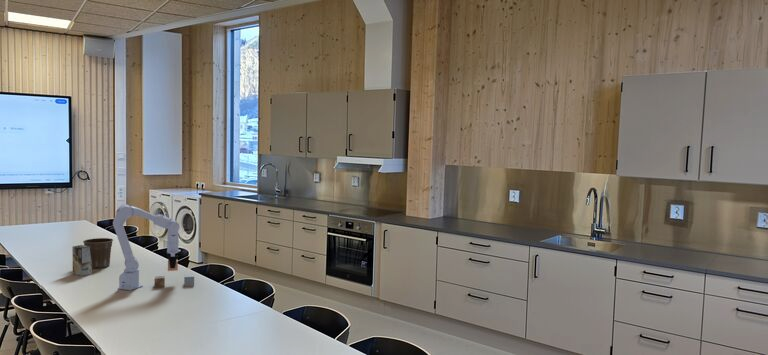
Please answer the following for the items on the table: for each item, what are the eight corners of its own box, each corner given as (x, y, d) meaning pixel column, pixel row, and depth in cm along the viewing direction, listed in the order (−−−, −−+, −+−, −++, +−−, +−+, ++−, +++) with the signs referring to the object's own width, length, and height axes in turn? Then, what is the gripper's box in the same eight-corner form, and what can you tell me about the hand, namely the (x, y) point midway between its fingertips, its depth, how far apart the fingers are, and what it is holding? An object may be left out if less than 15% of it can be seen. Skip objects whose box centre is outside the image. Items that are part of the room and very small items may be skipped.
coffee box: (92, 274, 317) (92, 246, 316) (81, 276, 312) (81, 248, 310) (82, 271, 321) (82, 244, 320) (71, 274, 316) (71, 246, 315)
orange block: (167, 270, 299) (167, 261, 298) (167, 268, 303) (167, 259, 303) (177, 270, 300) (177, 261, 300) (177, 268, 305) (177, 259, 305)
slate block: (184, 286, 299) (184, 277, 299) (184, 283, 304) (184, 274, 303) (194, 285, 301) (194, 276, 300) (193, 283, 305) (193, 274, 305)
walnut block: (154, 287, 294) (154, 278, 293) (154, 285, 298) (154, 276, 298) (164, 287, 295) (164, 278, 295) (164, 284, 300) (164, 275, 300)
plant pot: (76, 268, 330) (76, 241, 329) (96, 262, 345) (96, 237, 344) (99, 270, 326) (99, 243, 325) (118, 264, 342) (119, 239, 341)
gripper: (180, 244, 295) (180, 269, 296) (180, 239, 309) (180, 263, 310) (166, 245, 293) (166, 270, 294) (167, 240, 306) (166, 264, 307)
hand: (172, 266), depth 302 cm, fingers closed on orange block, 5 cm apart
